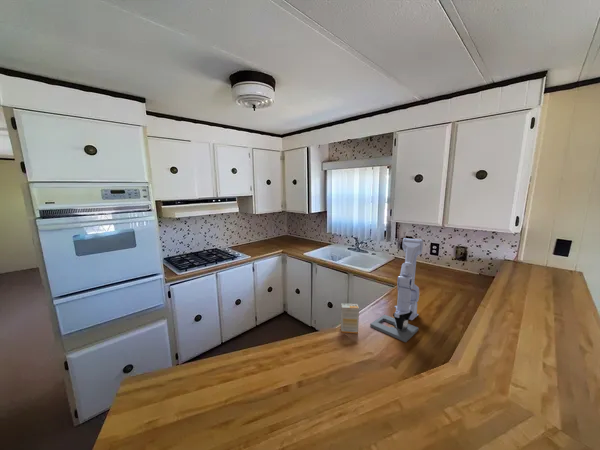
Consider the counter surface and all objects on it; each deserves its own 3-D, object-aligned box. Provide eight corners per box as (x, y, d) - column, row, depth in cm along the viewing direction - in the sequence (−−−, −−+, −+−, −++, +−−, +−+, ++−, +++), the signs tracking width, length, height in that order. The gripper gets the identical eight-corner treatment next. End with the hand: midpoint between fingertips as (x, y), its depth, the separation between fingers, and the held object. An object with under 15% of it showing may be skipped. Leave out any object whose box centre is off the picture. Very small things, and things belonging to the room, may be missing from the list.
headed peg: (398, 326, 119) (399, 315, 118) (409, 331, 115) (409, 319, 114) (393, 330, 115) (394, 319, 115) (404, 335, 111) (405, 323, 111)
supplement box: (356, 328, 117) (357, 303, 116) (358, 334, 112) (359, 308, 111) (340, 327, 118) (341, 302, 117) (340, 332, 113) (341, 307, 112)
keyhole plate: (384, 317, 130) (384, 314, 129) (418, 330, 117) (418, 327, 116) (370, 326, 119) (370, 323, 119) (405, 342, 106) (405, 339, 106)
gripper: (402, 293, 121) (400, 318, 123) (388, 301, 111) (387, 328, 113) (416, 298, 116) (414, 323, 118) (403, 306, 106) (401, 334, 108)
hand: (402, 326), depth 115 cm, fingers closed on headed peg, 5 cm apart
